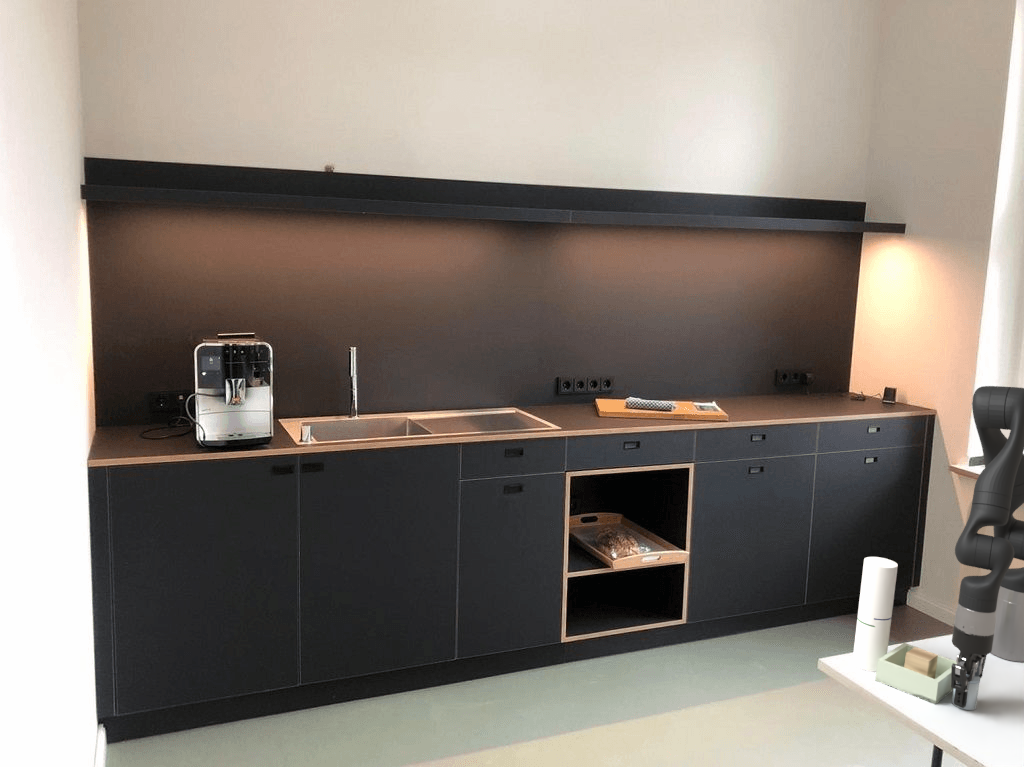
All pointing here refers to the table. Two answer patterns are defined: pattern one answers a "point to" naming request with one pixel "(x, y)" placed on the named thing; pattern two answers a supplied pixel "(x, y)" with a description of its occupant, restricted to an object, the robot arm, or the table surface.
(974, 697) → the ceramic jar
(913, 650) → the oak block
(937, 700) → the crate
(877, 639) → the cylindrical container
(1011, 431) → the robot arm
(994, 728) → the table surface
